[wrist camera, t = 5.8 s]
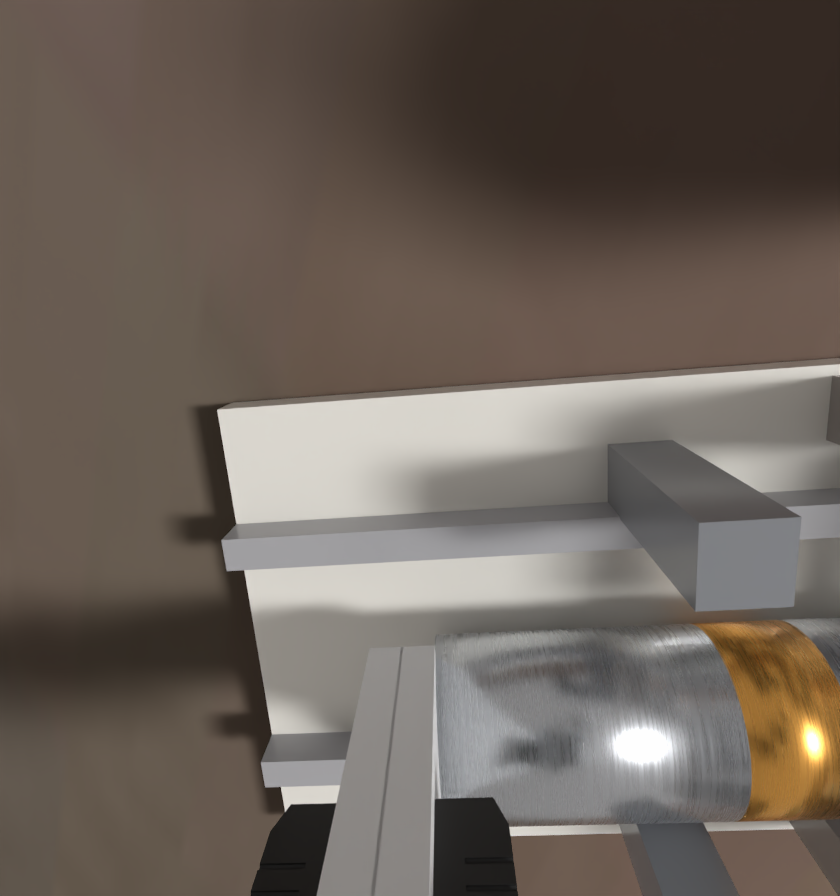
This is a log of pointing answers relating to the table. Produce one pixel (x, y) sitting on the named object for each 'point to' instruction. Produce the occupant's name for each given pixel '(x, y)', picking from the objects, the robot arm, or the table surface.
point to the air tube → (644, 722)
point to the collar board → (530, 541)
